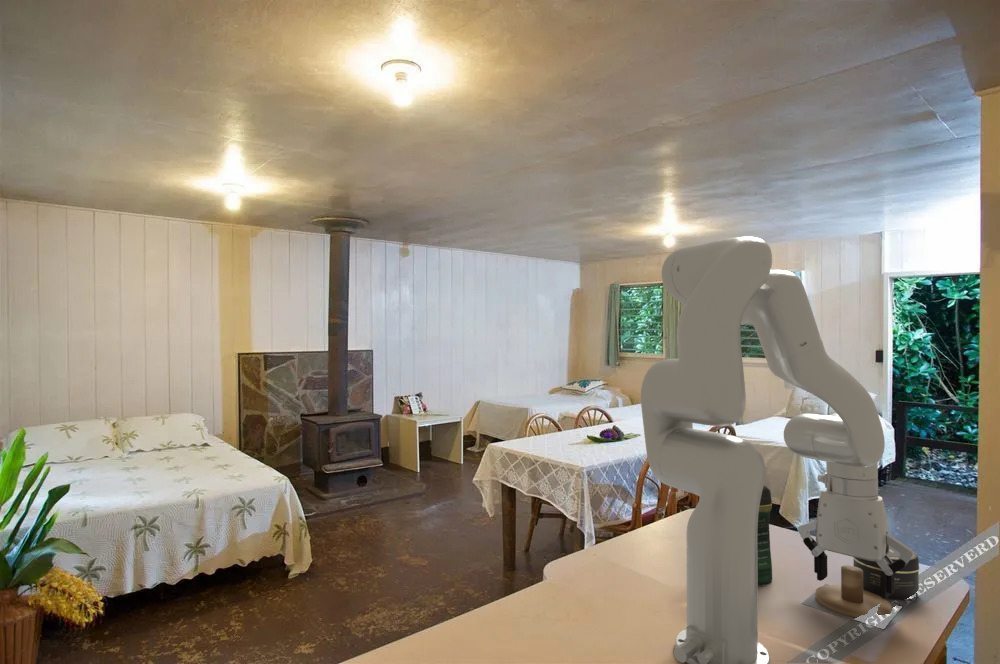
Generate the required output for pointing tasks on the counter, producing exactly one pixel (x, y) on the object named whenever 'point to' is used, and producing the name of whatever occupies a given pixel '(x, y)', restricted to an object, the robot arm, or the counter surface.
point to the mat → (813, 603)
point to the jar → (903, 579)
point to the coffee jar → (764, 539)
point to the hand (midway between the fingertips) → (852, 587)
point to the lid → (850, 595)
